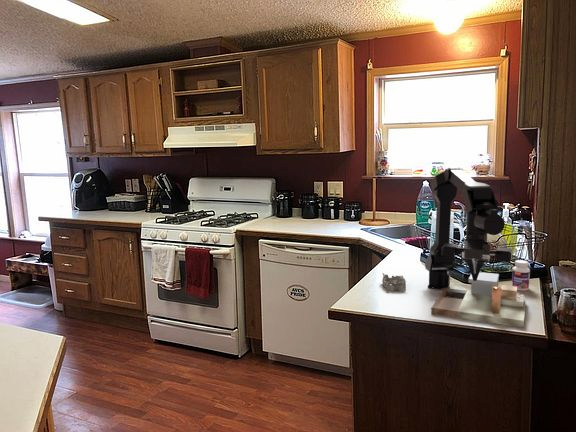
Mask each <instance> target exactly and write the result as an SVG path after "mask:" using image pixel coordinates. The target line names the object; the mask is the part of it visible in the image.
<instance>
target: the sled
mask: <svg viewBox="0 0 576 432" xmlns="http://www.w3.org/2000/svg"><path fill="white" fill-rule="evenodd" d="M519 297H520V301H518V300H509V299H501V286H498V287H496V286H494V287H492V302H491V311H492V312H500V304H503V305H511V306H518V307H523V303H524V298H525V294H520V295H519Z"/></svg>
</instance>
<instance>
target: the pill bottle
mask: <svg viewBox="0 0 576 432" xmlns="http://www.w3.org/2000/svg"><path fill="white" fill-rule="evenodd" d="M514 262H515V263H514V265H515V266H513V267H512V272H511V273H512V274H511V286H514V287H517V291H525V292H526V291H528V290H529V288H530V278H531V277H530V276H531V269H530V268H529V261H528V260H521V259H517V260H515V261H514Z"/></svg>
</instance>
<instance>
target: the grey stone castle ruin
mask: <svg viewBox="0 0 576 432" xmlns="http://www.w3.org/2000/svg"><path fill="white" fill-rule="evenodd" d="M406 282H407V281H406V278H404V275H395V276H394V275H392V276H391V277H389V275H388V274H385V273H384V272H382V285H384V288H386V291H390V292H394V291H400V292H402V291H405V290H406V288H407V284H406Z"/></svg>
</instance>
